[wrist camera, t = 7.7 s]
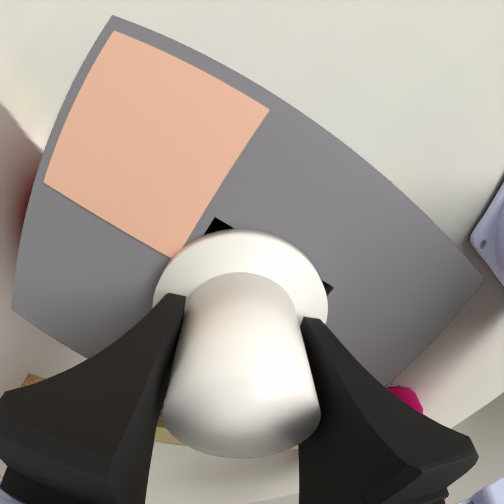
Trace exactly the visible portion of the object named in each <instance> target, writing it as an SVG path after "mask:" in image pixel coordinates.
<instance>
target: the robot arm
mask: <svg viewBox="0 0 504 504" xmlns="http://www.w3.org/2000/svg"><path fill="white" fill-rule="evenodd" d="M481 242H482V244H481ZM470 243H471V245H472V246H473V247H474V248H475V249H476V251H477V252H478V253H479V254H480V256H481V257H482V258H483V259H484V261H485V262H486V263H487V265H488V266H489V267H490V269H491V270H492V271H493V273H494V274H495V275H496V277H497V278H498V279H499V281H500V282H501V283H502V285H503V286H504V182H503V184H502V186H501V188H500V189H499V191H498V193H497V194H496V196H495V198H494V199H493V201H492V203H491V204H490V206H489V208H488V209H487V211H486V212H485V214H484V216H483V217H482V219H481V220H480V222H479V223H478V225H477V226H476V228H475V229H474V231H473V232H472V234H471V237H470ZM185 302H186V296H183V295H178V294H173V293H167V294H165V295H164V297H163V298H162V299H161V300H160V301H159V302H158V303H157V304H156V305H155V306H154V307H153V308H152V309H151V310H150V311H149V312H148V313H147V314H146V315H145V316H144V317H143V318H142V319H141V320H140V321H139V322H138V323H137V324H136V325H134V326H133V327H132V328H131V329H130V330H128V331H127V332H126V333H125V334H123V335H122V336H121V337H120V338H119V339H117V340H116V341H115V342H113V343H112V344H110V345H109V346H108V347H106V348H105V349H103V350H102V351H100V352H99V353H97V354H96V355H94V356H92V357H90V358H89V359H87V360H85V361H84V362H82V363H80V364H78V365H76V366H75V367H73V368H71V369H68V370H66V371H64V372H62V373H60V374H57V375H55V376H53V377H50V378H48V379H45V380H43V381H40V382H37V383H34V384H31V385H27V386H24V387H20V388H17V389H14V390H10V391H5V393H4V394H3V396H2V397H1V398H0V459H1V460H2V461H3V462H4V463H5V464H6V465H7V466H8V467H7V469H6V471H5V474H4V476H3V477H1V476H0V504H145V498H146V490H147V483H148V475H149V469H150V462H151V456H152V450H153V444H154V439H155V433H156V428H157V424H158V420H159V416H160V413H161V410H162V406H163V403H164V400H165V397H166V393H167V388H168V383H169V378H170V374H171V369H172V364H173V360H174V355H175V351H176V346H177V342H178V338H179V333H180V329H181V325H182V321H183V317H184V309H185ZM300 330H301V334H302V338H303V342H304V346H305V350H306V354H307V358H308V362H309V366H310V370H311V374H312V378H313V382H314V386H315V390H316V394H317V398H318V402H319V407H320V411H321V419H320V422H319V425H318V427H317V428H316V430H315V431H314V432H313V433H312V434H311V435H310V436H309V437H308V438H307V439H306V440H304V441H303V442H301V443H300V444H298V451H299V504H445V501H444V499H445V498H446V497H448V496H449V493H448V490H447V487H448V486H449V485H451V484H452V483H453V482H455V481H456V480H457V479H459V478H460V477H461V476H463V475H464V474H465V473H466V472H467V471H469V470H470V469H471V468H472V467H473V466H474V465H475V464H476V462H477V460H478V458H479V457H478V454H477V452H476V450H475V448H474V445H473V443H472V441H471V439H470V437H469V436H466V435H464V434H461V433H459V432H456V431H454V430H452V429H450V428H447V427H445V426H443V425H441V424H439V423H437V422H436V421H434V420H432V419H430V418H428V417H427V416H425V415H423V414H422V413H420V412H418V411H417V410H415V409H414V408H412V407H411V406H409V405H408V404H406V403H405V402H404V401H402V400H401V399H399V398H398V397H397V396H395V395H394V394H393V393H392V392H391V391H389V390H388V389H387V388H386V387H385V386H383V385H382V384H381V383H380V382H379V381H378V380H376V379H375V378H374V377H373V376H372V375H371V374H370V373H369V372H368V371H367V370H366V369H365V368H364V367H363V366H362V365H361V364H360V363H359V362H358V361H357V360H356V359H355V357H354V356H353V355H352V354H351V353H350V352H349V351H348V350H347V349H346V348H345V346H344V345H343V344H342V343H341V342H340V341H339V340H338V338H337V337H336V336H335V335H334V334H333V333H332V331H331V330H330V329H329V328H328V327H327V326H326V325H325V324H324V323H323V322H322V320H321V319H318V318H311V317H303V320H302V322H301V325H300ZM457 504H504V477H501V478H500V479H498V480H496V481H494V482H492V483H490V484H489V485H487V486H485V487H484V488H483V489H481V490H479V491H478V492H477V493H475V494H474V495H473V496H472V497H471V498H468V499H466V500H464V501H462V502H460V503H457Z"/></svg>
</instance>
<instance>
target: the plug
mask: <svg viewBox="0 0 504 504" xmlns="http://www.w3.org/2000/svg"><path fill="white" fill-rule="evenodd" d="M167 293H173V294H178V295H183V296H186V302H185V309H184V317H183V321H182V325H181V329H180V333H179V338H178V342H177V346H176V351H175V355H174V360H173V364H172V369H171V374H170V378H169V383H168V388H167V393H166V398H165V403H164V408H163V416H162V417H163V422H164V424H165V426H166V428H167V430H168V431H169V432H170V433H171V434H172V436H173V437H175V438H176V439H177V440H178V441H180V442H181V443H183V444H184V445H186V446H188V447H190V448H192V449H195V450H197V451H200V452H203V453H206V454H210V455H214V456H220V457H228V458H255V457H262V456H268V455H272V454H276V453H280V452H283V451H285V450H288V449H290V448H292V447H294V446H296V445H298V444H300V443H301V442H303V441H304V440H306V439H307V438H308V437H309V436H310V435H311V434H312V433H313V432H314V431H315V430H316V428H317V427H318V425H319V422H320V419H321V411H320V407H319V402H318V398H317V394H316V390H315V386H314V382H313V378H312V374H311V370H310V366H309V362H308V358H307V354H306V350H305V346H304V342H303V338H302V334H301V330H300V325H301V322H302V320H303V317H311V318H318V319H321V320H322V322H323V323H324V324H326V320H327V314H328V301H327V296H326V292H325V289H324V286H323V283H322V281H321V279H320V277H319V275H318V272H317V271H316V269H315V267H314V265H313V264H312V262H311V261H310V260H309V258H308V257H307V256H306V255H305V254H304V253H303V252H302V251H301V250H300V249H299V248H297V247H296V246H294V245H293V244H292V243H290V242H289V241H287V240H285V239H283V238H281V237H279V236H276V235H273V234H271V233H268V232H263V231H259V230H252V229H227V230H221V231H216V232H213V233H209V234H206V235H204V236H202V237H199V238H197V239H195V240H193V241H192V242H190V243H188V244H187V245H185V246H184V247H183V248H182V249H180V250H179V251H178V252H177V253H176V254H175V255H174V256H173V257H172V259H171V260H170V261H169V262H168V264H167V266H166V267H165V269H164V271H163V273H162V275H161V278H160V280H159V282H158V285H157V287H156V289H155V293H154V297H153V307H154V306H155V305H156V304H157V303H158V302H159V301H160V300H161V299H162V298H163V297H164V295H165V294H167ZM153 307H152V308H153Z"/></svg>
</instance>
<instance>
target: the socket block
mask: <svg viewBox="0 0 504 504" xmlns="http://www.w3.org/2000/svg"><path fill="white" fill-rule="evenodd" d="M214 217H216V218H217V219H219V220H221V221H223V222H224V223H226V224H228V225H230V226H231V227H233V228H235V229H252V230H259V231H263V232H268V233H271V234H273V235H276V236H279V237H281V238H283V239H285V240H287V241H289V242H290V243H292V244H293V245H294V246H296V247H297V248H299V249H300V250H301V251H302V252H303V253H304V254H305V255H306V256H307V257H308V258H309V260H310V261H311V262H312V264H313V265H314V267H315V269H316V271H317V272H318V275H319V277H320V279H321V281H322V283H323V286H324V289H325V292H326V296H327V301H328V314H327V320H326V324H325V325H326V326H327V327H328V328H329V329H330V330H331V331H332V333H333V334H334V335H335V336H336V337H337V338H338V340H339V341H340V342H341V343H342V344H343V345H344V346H345V348H346V349H347V350H348V351H349V352H350V353H351V354H352V355H353V356H354V357H355V359H356V360H357V361H358V362H359V363H360V364H361V365H362V366H363V367H364V368H365V369H366V370H367V371H368V372H369V373H370V374H371V375H372V376H373V377H374V378H375V379H376V380H378V381H379V382H380V383H381V384H382V385H383V386H386V385H387V384H388V383H389V382H390V381H392V380H393V379H394V378H395V377H396V376H397V375H398V374H399V373H400V372H401V371H402V370H404V369H405V368H406V367H407V366H408V365H409V364H410V363H411V362H412V361H413V360H414V359H415V358H416V357H417V356H418V355H419V354H420V353H421V352H422V351H423V350H424V349H425V348H426V347H427V346H428V345H429V344H430V343H431V342H432V341H433V340H434V338H435V337H436V336H437V335H438V334H439V333H440V332H441V331H442V330H443V329H444V328H445V326H446V325H447V324H448V323H449V322H450V321H451V320H452V318H453V317H454V316H455V315H456V314H457V313H458V311H459V310H460V309H461V308H462V307H463V305H464V304H465V303H466V302H467V301H468V299H469V298H470V297H471V296H472V294H473V293H474V292H475V290H476V289H477V288H478V287H479V285H480V284H481V283H482V281H483V280H484V277H483V276H482V275H481V274H480V273H479V271H478V270H477V269H476V268H475V267H474V266H473V264H472V263H471V262H470V261H469V260H468V259H467V257H466V256H465V255H464V254H463V253H462V252H461V251H460V250H459V249H458V247H457V246H456V245H455V244H454V243H453V242H452V241H451V240H450V239H449V238H448V237H447V236H446V235H445V234H444V232H443V231H442V230H441V229H440V228H439V227H438V226H437V225H436V224H435V223H434V222H433V221H432V220H431V219H430V218H429V217H428V216H427V215H426V214H425V213H424V212H423V211H422V210H421V209H420V208H419V207H417V206H416V205H415V204H414V203H413V202H412V201H411V200H410V199H409V198H408V197H407V196H406V195H405V194H404V193H403V192H401V191H400V190H399V189H398V188H397V187H396V186H395V185H394V184H393V183H391V182H390V181H389V180H388V179H387V178H386V177H385V176H383V175H382V174H381V173H380V172H379V171H378V170H376V169H375V168H374V167H373V166H372V165H370V164H369V163H368V162H367V161H366V160H364V159H363V158H362V157H361V156H359V155H358V154H357V153H356V152H354V151H353V150H352V149H351V148H349V147H348V146H347V145H345V144H344V143H343V142H342V141H340V140H339V139H338V138H336V137H335V136H334V135H332V134H331V133H330V132H328V131H327V130H326V129H324V128H323V127H321V126H320V125H319V124H317V123H316V122H314V121H313V120H312V119H310V118H309V117H307V116H306V115H304V114H303V113H302V112H300V111H299V110H297V109H296V108H294V107H293V106H291V105H290V104H288V103H287V102H285V101H284V100H282V99H280V98H279V97H277V96H276V95H274V94H273V93H271V92H269V91H268V90H266V89H265V88H263V87H261V86H260V85H258V84H256V83H255V82H253V81H251V80H250V79H248V78H246V77H244V76H243V75H241V74H239V73H237V72H236V71H234V70H232V69H230V68H229V67H227V66H225V65H223V64H221V63H219V62H217V61H216V60H214V59H212V58H210V57H208V56H206V55H204V54H202V53H200V52H198V51H196V50H194V49H192V48H190V47H188V46H186V45H184V44H181V43H179V42H177V41H175V40H173V39H171V38H168V37H166V36H164V35H162V34H159V33H157V32H155V31H152V30H150V29H147V28H145V27H142V26H140V25H137V24H135V23H132V22H130V21H127V20H124V19H122V18H119V17H116V16H113V15H112V16H111V18H110V19H109V21H108V22H107V24H106V25H105V27H104V28H103V30H102V32H101V33H100V35H99V36H98V38H97V40H96V41H95V43H94V45H93V46H92V48H91V50H90V52H89V53H88V55H87V57H86V59H85V60H84V62H83V64H82V66H81V68H80V70H79V72H78V74H77V76H76V77H75V79H74V81H73V83H72V86H71V88H70V90H69V92H68V94H67V96H66V98H65V100H64V103H63V105H62V107H61V109H60V112H59V114H58V116H57V119H56V121H55V124H54V126H53V129H52V131H51V134H50V136H49V139H48V142H47V145H46V147H45V150H44V153H43V156H42V159H41V162H40V165H39V168H38V171H37V175H36V178H35V181H34V185H33V188H32V192H31V196H30V199H29V203H28V207H27V212H26V216H25V220H24V225H23V230H22V235H21V240H20V245H19V251H18V258H17V264H16V271H15V278H14V287H13V298H12V310H14V311H15V312H16V313H18V314H19V315H20V316H22V317H23V318H25V319H26V320H27V321H29V322H30V323H32V324H33V325H35V326H36V327H38V328H39V329H40V330H42V331H43V332H45V333H47V334H48V335H50V336H51V337H53V338H54V339H56V340H57V341H59V342H61V343H62V344H64V345H65V346H67V347H69V348H71V349H72V350H74V351H75V352H77V353H79V354H81V355H82V356H84V357H86V358H88V359H89V358H90V357H92V356H94V355H96V354H97V353H99V352H100V351H102V350H103V349H105V348H106V347H108V346H109V345H110V344H112V343H113V342H115V341H116V340H117V339H119V338H120V337H121V336H122V335H123V334H125V333H126V332H127V331H128V330H130V329H131V328H132V327H133V326H134V325H136V324H137V323H138V322H139V321H140V320H141V319H142V318H143V317H144V316H145V315H146V314H147V313H148V312H149V311H150V310H151V309H152V307H153V297H154V293H155V289H156V287H157V285H158V282H159V280H160V278H161V275H162V273H163V271H164V269H165V267H166V266H167V264H168V262H169V261H170V260H171V259H172V257H173V256H174V255H175V254H176V253H177V252H178V251H179V250H180V249H182V248H183V247H184V246H185V245H187V244H188V243H190V242H192V241H193V240H195V239H197V238H199V237H202V236H203V235H204V233H205V232H206V230H207V229H208V227H209V225H210V224H211V222H212V220H213V219H214Z"/></svg>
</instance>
